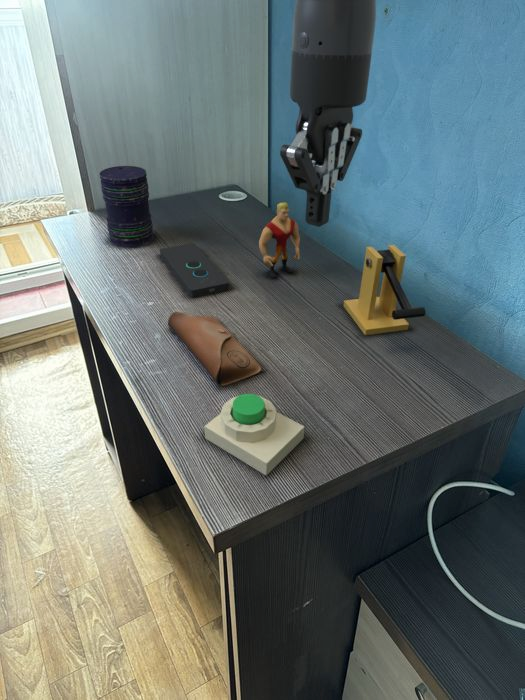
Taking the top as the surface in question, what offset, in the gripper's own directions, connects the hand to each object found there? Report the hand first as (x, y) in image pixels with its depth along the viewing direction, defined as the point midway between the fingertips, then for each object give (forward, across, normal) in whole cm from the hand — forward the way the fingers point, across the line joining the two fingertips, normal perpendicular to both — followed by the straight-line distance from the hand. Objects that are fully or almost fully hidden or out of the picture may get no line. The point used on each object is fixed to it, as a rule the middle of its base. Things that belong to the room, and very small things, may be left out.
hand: (316, 223), depth 59 cm
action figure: (+26, +30, +25) cm, 47 cm away
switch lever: (+18, +24, -1) cm, 30 cm away
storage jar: (+26, +22, +61) cm, 70 cm away
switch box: (+26, -10, 0) cm, 28 cm away
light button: (+22, -10, +1) cm, 25 cm away
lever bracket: (+26, +26, +2) cm, 37 cm away
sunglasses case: (+26, +1, +18) cm, 32 cm away
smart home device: (+26, +19, +39) cm, 51 cm away
